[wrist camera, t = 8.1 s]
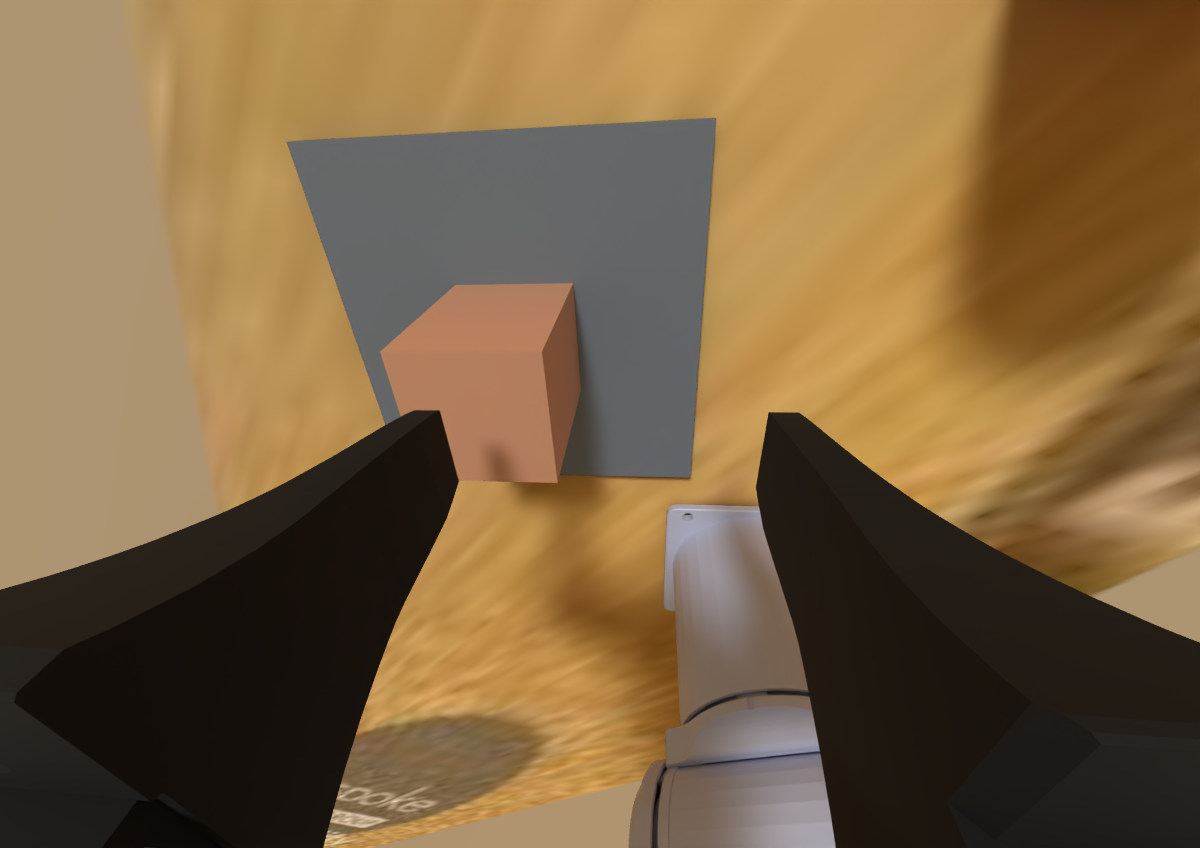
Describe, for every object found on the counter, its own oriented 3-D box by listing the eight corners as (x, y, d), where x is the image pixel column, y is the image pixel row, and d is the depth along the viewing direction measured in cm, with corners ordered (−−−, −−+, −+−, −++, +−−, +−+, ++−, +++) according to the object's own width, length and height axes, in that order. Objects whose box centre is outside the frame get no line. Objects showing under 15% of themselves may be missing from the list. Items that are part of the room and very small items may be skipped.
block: (573, 283, 18) (541, 351, 13) (580, 389, 20) (557, 482, 15) (455, 285, 18) (379, 351, 13) (477, 389, 20) (421, 479, 15)
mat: (714, 118, 15) (716, 118, 14) (689, 469, 23) (690, 477, 22) (297, 140, 16) (286, 141, 16) (407, 464, 24) (402, 471, 23)
